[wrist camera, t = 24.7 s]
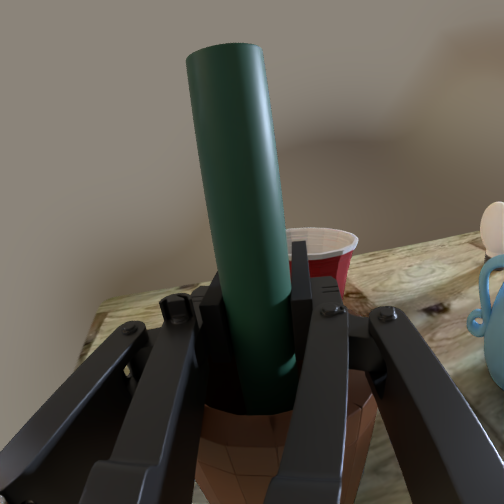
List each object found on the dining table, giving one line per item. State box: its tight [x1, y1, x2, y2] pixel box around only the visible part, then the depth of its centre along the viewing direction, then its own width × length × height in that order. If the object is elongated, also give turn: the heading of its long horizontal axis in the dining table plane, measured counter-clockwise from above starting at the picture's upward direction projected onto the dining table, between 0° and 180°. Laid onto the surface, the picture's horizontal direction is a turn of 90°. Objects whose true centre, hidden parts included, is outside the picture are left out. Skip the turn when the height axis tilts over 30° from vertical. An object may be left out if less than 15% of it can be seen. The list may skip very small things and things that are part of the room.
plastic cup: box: [286, 228, 358, 300], centre depth 33 cm, size 11×11×12 cm
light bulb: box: [480, 202, 504, 271], centre depth 40 cm, size 7×7×11 cm
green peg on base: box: [186, 43, 299, 415], centre depth 13 cm, size 4×4×22 cm
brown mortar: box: [195, 309, 378, 504], centre depth 15 cm, size 10×10×13 cm
